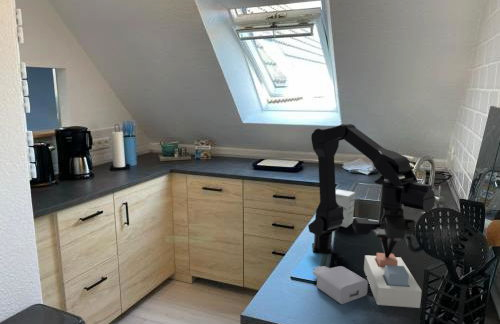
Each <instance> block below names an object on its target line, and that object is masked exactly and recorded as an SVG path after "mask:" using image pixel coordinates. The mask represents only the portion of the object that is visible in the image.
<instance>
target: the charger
mask: <svg viewBox="0 0 500 324" xmlns="http://www.w3.org/2000/svg"><path fill="white" fill-rule="evenodd" d="M312 270H313V271H312V274H313V275H314V276H316V288H317V289H319V291H322V292H323V293H324V294H325V295H327V296H329V297H330V298H331V299H333V300H335V301H336V302H337V303H339V304H341V305H343V304H347V303H348V302H352V301H354V300H357V299H360V298H363V297H365V296H367V294H368V287H369V286H368V284H369V282H368V279H365V278H363V277H361V276H360V275H358V274H357V273H355V272H354V271H351V270H350V269H348V268H346V267H345V266H341V265H338V266H334V267H328V266H326V265H322V266H320V265H317V267H312Z"/></svg>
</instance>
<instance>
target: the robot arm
mask: <svg viewBox="0 0 500 324" xmlns="http://www.w3.org/2000/svg"><path fill="white" fill-rule="evenodd" d="M310 138H311V146H312V149H313V151H314V153H315V154H316V156H317V159H318V161H317V163H318V183H319V184H318V186H319V204H318V206H317V207H316V210H315V217H314V218H315V219H314V220H313V221H311V223H309V224H308V225H307V228H308V232H309V233H312V234H313V235H314V237H313V243H312V244H311V246H312V247H311V248H312V252H313V253H321V254H334V248H333V245H332V243H333V232H337V231H338V230H339V228H340V227H341V226H340V225H341V224H342V222H343V219H344V217H343V207H339V205H338V204H337V202H336V190H337V189H336V170H335V169H336V168H335V156H336V153H337V152H338V149H339V145H340V144H339V143H340V141H345V142H346V143H348V144H349V145H351V146H352V147H353V148H355V149H356V150H357V151H358V152H360V153H361V154H362V155H363V156H365V157H366V158H367V159H369V160H370V161H371V162H372V164H373V166H374V169H375V170H376V171H377V172H378V173H379V174H380V176H379V177H378V178H377V179H376V180H374V183H375V184H377V185H381V191H380V202H379V212H378V213H379V214H378V218H377V220H378V222H370V219H368V217H354V218H353V223H352V229H353V231H354V233H355V234H357V235H369V234H370V233H372V231H373V233H374V235H375V237H376V238H379V239H380V245H381V248H382V250H383V253H384V255H385V257H389V256H390V254H392V252H393V250H394V248H395V246H396V245H397V243H398V242H399V241H400V240H405V239H406V237H407V235H413V236H415V226H416V223H417V221H418V220H415V219H408V218H405V217H404V209H403V207H406V208H409V209H412V210H415V211H419V212H423V213H426V212H427V211H428V210H430V209H432V210H433V208H434V205H435V203H436V196H435V192H434V191H433V190H432V189H433V186H432V184H425V183H419V180H418V178H417V176H416V175H415V173H414V171H413V169H412V168H411V161H410V160H409V159H408V157H406V156H404V155H402V154H400V153H398V152H396V151H393V150H390V149H387V148H385V147H383V146H382V145H381V144H379V143H377V142H376V141H374V140H373V139H372V138H370V137H369V136H368V135H366V133H363V132H362V131H361V130H359V128H357V127H356V126H355V125H354V124H352V123H344V124H343V123H341V124H339V125H337V126H333V127H324V128H316V129H314V131H313V132H312V133H311V136H310Z"/></svg>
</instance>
